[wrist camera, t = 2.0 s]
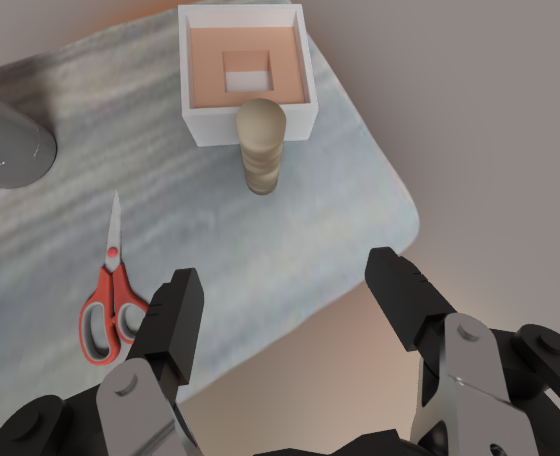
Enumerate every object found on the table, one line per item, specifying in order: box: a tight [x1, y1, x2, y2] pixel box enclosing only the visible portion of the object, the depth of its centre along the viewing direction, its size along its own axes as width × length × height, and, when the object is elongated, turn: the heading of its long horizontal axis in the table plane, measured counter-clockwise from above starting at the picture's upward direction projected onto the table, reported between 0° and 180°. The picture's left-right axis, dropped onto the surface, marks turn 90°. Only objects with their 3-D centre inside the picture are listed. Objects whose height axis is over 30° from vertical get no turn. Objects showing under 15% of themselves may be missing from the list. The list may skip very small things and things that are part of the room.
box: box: [178, 4, 319, 147], centre depth 29 cm, size 15×15×6 cm
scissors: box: [79, 188, 149, 365], centre depth 26 cm, size 8×21×2 cm, turn 19°
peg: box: [236, 98, 286, 195], centre depth 24 cm, size 4×4×12 cm
